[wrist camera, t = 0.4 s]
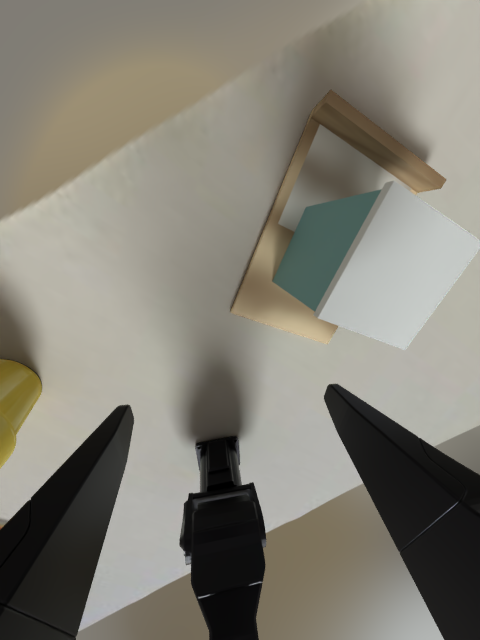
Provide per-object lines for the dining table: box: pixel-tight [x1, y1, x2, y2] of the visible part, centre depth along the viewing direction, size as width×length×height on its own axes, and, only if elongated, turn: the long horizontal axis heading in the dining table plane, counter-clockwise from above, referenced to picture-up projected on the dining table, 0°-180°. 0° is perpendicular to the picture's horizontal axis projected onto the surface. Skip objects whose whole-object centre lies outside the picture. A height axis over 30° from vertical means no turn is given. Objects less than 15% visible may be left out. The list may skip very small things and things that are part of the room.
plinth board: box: [231, 90, 446, 344], centre depth 22 cm, size 20×14×3 cm
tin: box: [272, 181, 480, 350], centre depth 18 cm, size 8×8×11 cm
